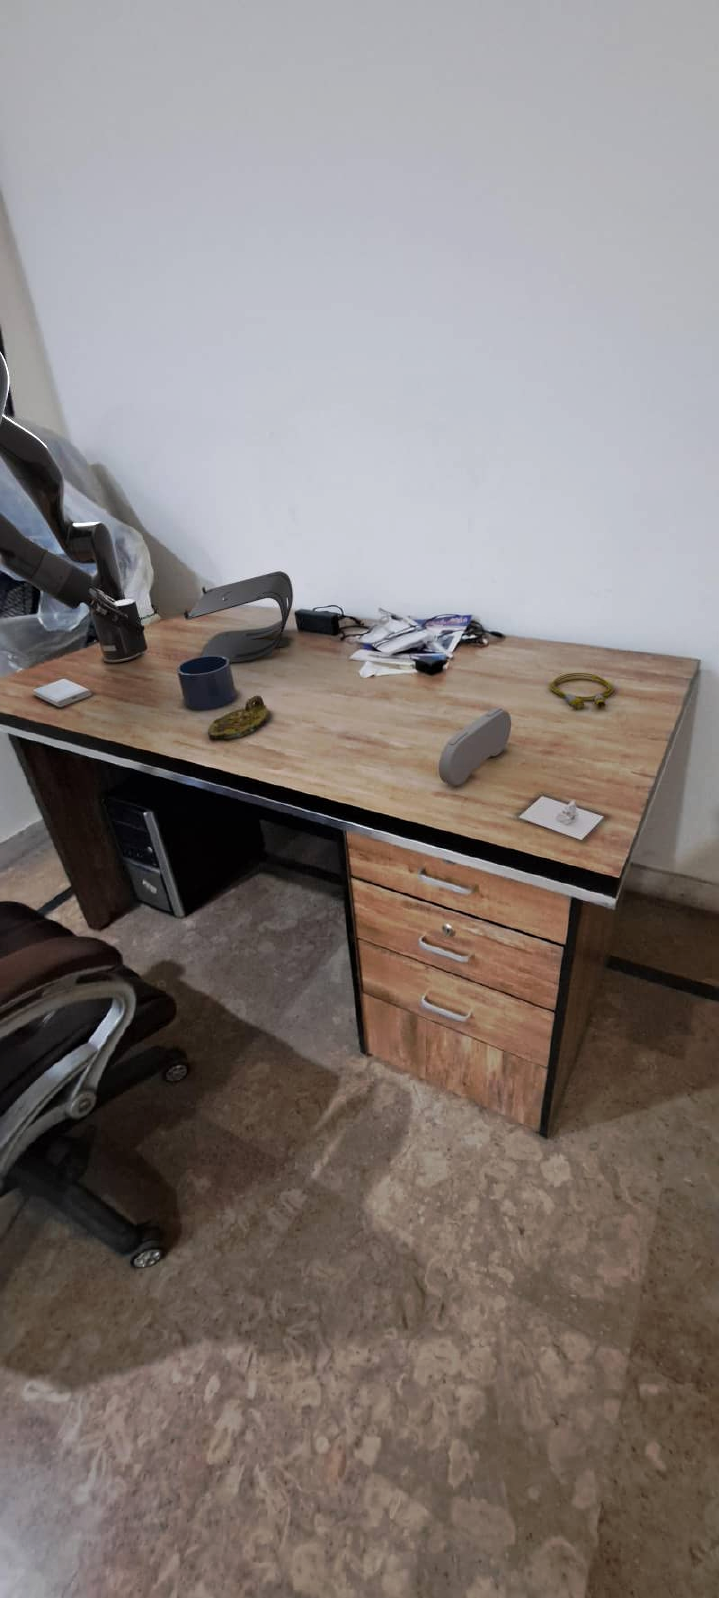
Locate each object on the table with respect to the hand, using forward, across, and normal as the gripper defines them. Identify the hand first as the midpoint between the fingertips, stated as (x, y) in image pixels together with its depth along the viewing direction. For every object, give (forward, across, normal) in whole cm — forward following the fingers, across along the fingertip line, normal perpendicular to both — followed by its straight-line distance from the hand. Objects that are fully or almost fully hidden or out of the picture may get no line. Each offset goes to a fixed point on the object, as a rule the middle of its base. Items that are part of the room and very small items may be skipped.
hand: (140, 627), depth 139 cm
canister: (+2, 0, +4) cm, 5 cm away
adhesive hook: (+45, -78, -20) cm, 93 cm away
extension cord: (+67, -45, -42) cm, 91 cm away
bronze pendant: (+21, -20, +4) cm, 30 cm away
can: (+20, -3, +5) cm, 21 cm away
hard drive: (-1, +20, +26) cm, 33 cm away
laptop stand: (+32, +26, -7) cm, 42 cm away
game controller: (+43, -59, -19) cm, 76 cm away
